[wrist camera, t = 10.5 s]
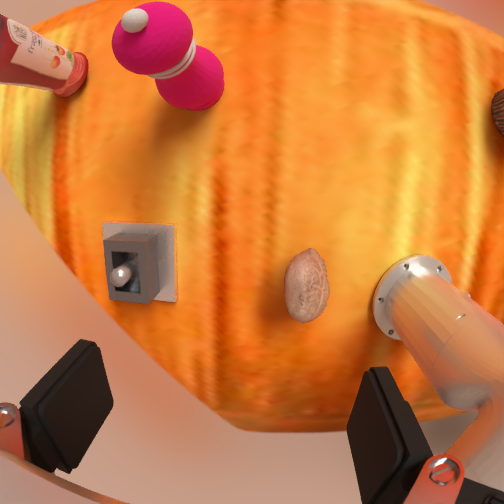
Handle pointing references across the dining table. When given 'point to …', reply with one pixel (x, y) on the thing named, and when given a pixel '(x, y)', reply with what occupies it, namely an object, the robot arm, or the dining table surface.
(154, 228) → the keeper
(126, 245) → the grey rectangular frame
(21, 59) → the liquor
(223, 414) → the dining table surface
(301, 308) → the mushroom
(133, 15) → the pepper mill
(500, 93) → the cupcake
